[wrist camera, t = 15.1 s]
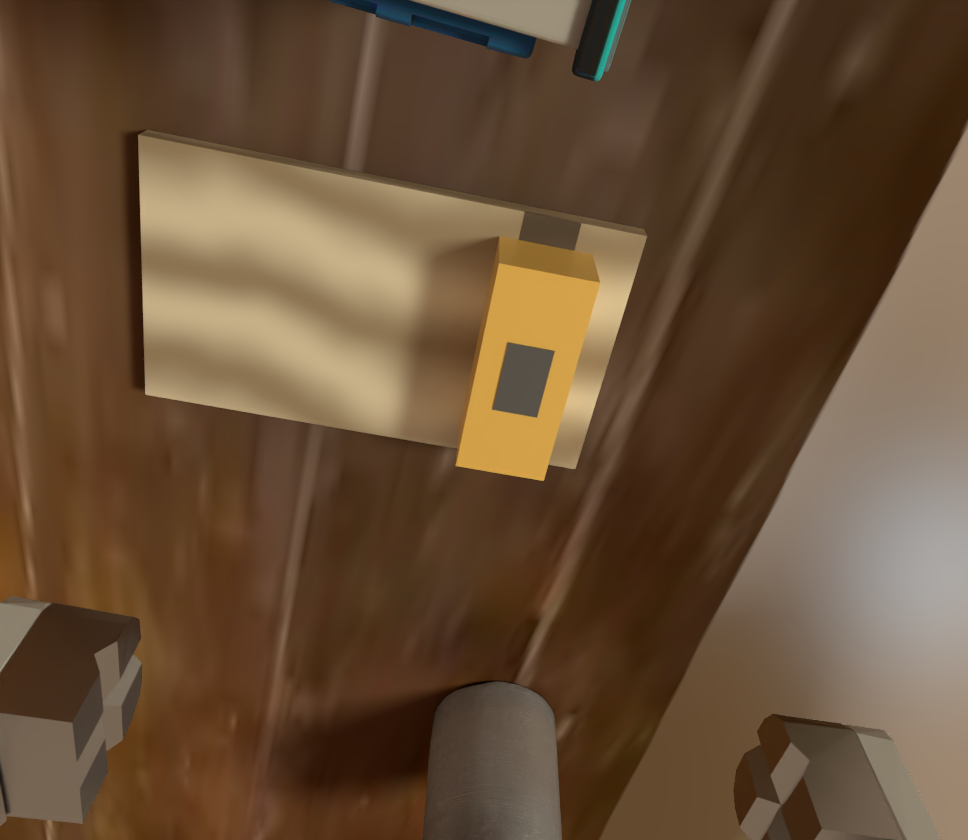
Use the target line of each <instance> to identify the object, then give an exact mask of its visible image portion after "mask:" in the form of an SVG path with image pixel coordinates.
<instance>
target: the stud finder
mask: <svg viewBox="0 0 968 840" xmlns="http://www.w3.org/2000/svg"><path fill="white" fill-rule="evenodd" d="M599 286H600V280H599V276H598V272H597V269H596V265H595V261H594V258H593V254H588V253H583V252H578V251H573V250H567V249H562V248H557V247H552V246H547V245H542V244H537V243H532V242H527V241H522V240H517V239H511V238H506V237H501V236H499V241H498V245H497V250H496V255H495V260H494V264H493V269H492V274H491V279H490V283H489V288H488V293H487V298H486V302H485V307H484V312H483V317H482V321H481V326H480V331H479V336H478V340H477V345H476V350H475V355H474V360H473V364H472V369H471V374H470V379H469V383H468V388H467V393H466V398H465V402H464V407H463V412H462V417H461V421H460V426H459V435H458V446H457V457H456V466H460V467H465V468H471V469H477V470H483V471H489V472H495V473H500V474H506V475H512V476H518V477H524V478H529V479H535V480H541V481H544V478H545V475H546V471H547V468H548V464H549V461H550V457H551V454H552V450H553V447H554V443H555V440H556V436H557V433H558V429H559V426H560V422H561V419H562V415H563V412H564V408H565V405H566V401H567V398H568V394H569V391H570V387H571V384H572V380H573V377H574V373H575V370H576V366H577V363H578V359H579V356H580V352H581V349H582V345H583V342H584V338H585V335H586V331H587V328H588V324H589V321H590V317H591V314H592V310H593V307H594V303H595V300H596V296H597V293H598V289H599Z"/></svg>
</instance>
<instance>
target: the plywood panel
mask: <svg viewBox="0 0 968 840" xmlns="http://www.w3.org/2000/svg"><path fill="white" fill-rule="evenodd" d="M138 149H139V185H140V221H141V257H142V293H143V328H144V364H145V395H151V396H157V397H163V398H168V399H174V400H180V401H186V402H191V403H197V404H203V405H209V406H214V407H220V408H226V409H232V410H237V411H243V412H249V413H255V414H260V415H266V416H272V417H278V418H283V419H289V420H295V421H301V422H307V423H312V424H318V425H324V426H330V427H335V428H341V429H347V430H353V431H358V432H364V433H370V434H376V435H381V436H387V437H393V438H399V439H404V440H410V441H416V442H422V443H427V444H433V445H439V446H445V447H451V448H456V449H457V446H458V435H459V426H460V421H461V417H462V412H463V407H464V402H465V398H466V393H467V388H468V383H469V379H470V374H471V369H472V364H473V360H474V355H475V350H476V345H477V340H478V336H479V331H480V326H481V321H482V317H483V312H484V307H485V302H486V298H487V293H488V288H489V283H490V279H491V274H492V269H493V264H494V260H495V255H496V250H497V245H498V241H499V236H501V237H506V238H511V239H517V240H522V241H527V242H532V243H537V244H542V245H547V246H552V247H557V248H562V249H567V250H573V251H578V252H583V253H588V254H593V258H594V261H595V265H596V269H597V272H598V276H599V280H600V286H599V289H598V293H597V296H596V300H595V303H594V307H593V310H592V314H591V317H590V321H589V324H588V328H587V331H586V335H585V338H584V342H583V345H582V349H581V352H580V356H579V359H578V363H577V366H576V370H575V373H574V377H573V380H572V384H571V387H570V391H569V394H568V398H567V401H566V405H565V408H564V412H563V415H562V419H561V422H560V426H559V429H558V433H557V436H556V440H555V443H554V447H553V450H552V454H551V457H550V461H549V464H548V465H554V466H560V467H566V468H571V469H575V468H576V465H577V462H578V459H579V455H580V452H581V449H582V446H583V442H584V439H585V436H586V433H587V430H588V426H589V423H590V420H591V417H592V413H593V410H594V407H595V404H596V400H597V397H598V394H599V391H600V387H601V384H602V381H603V378H604V374H605V371H606V368H607V365H608V361H609V358H610V355H611V352H612V349H613V345H614V342H615V339H616V336H617V332H618V329H619V326H620V323H621V319H622V316H623V313H624V310H625V306H626V303H627V300H628V297H629V293H630V290H631V287H632V284H633V280H634V277H635V274H636V271H637V268H638V264H639V261H640V258H641V255H642V251H643V248H644V245H645V242H646V238H647V235H646V233H645V231H644V229H642V228H637V227H632V226H627V225H622V224H617V223H612V222H607V221H602V220H597V219H592V218H587V217H582V216H577V215H572V214H567V213H562V212H557V211H552V210H547V209H542V208H537V207H532V206H527V205H522V204H517V203H512V202H507V201H502V200H497V199H492V198H487V197H482V196H477V195H472V194H467V193H462V192H457V191H452V190H447V189H442V188H437V187H432V186H427V185H422V184H417V183H412V182H407V181H402V180H397V179H392V178H387V177H382V176H377V175H372V174H367V173H362V172H357V171H352V170H347V169H342V168H337V167H332V166H327V165H322V164H317V163H312V162H307V161H302V160H297V159H292V158H287V157H282V156H277V155H272V154H267V153H262V152H257V151H252V150H247V149H242V148H237V147H232V146H227V145H222V144H217V143H212V142H207V141H202V140H197V139H192V138H187V137H182V136H177V135H172V134H167V133H162V132H157V131H152V130H146V131H144V132H142V133H140V134H139V135H138Z"/></svg>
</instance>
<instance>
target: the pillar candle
mask: <svg viewBox="0 0 968 840" xmlns="http://www.w3.org/2000/svg"><path fill="white" fill-rule="evenodd" d="M422 840H562V834H561V815H560V800H559V783H558V765H557V747H556V728H555V718H554V715H553V712H552V709H551V708H550V706H549V705H548V703H547V702H546V701H545V700H544V699H543V698H542V697H540V696H539V695H538V694H537V693H535V692H533V691H531V690H529V689H528V688H525V687H522V686H520V685H517V684H514V683H513V684H511V683H507V682H501V681H495V682H488V683H484V684H479V685H474V686H470V687H466V688H462V689H458V690H456V691H454V692H452V693H450V694H449V695H448V696H446V697H445V698H444V699H443V700H442V702H441V703H440V704H439V706H438V707H437V709H436V712H435V716H434V721H433V728H432V736H431V741H430V754H429V763H428V782H427V793H426V803H425V816H424V828H423V839H422Z"/></svg>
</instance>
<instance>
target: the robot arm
mask: <svg viewBox="0 0 968 840" xmlns="http://www.w3.org/2000/svg"><path fill="white" fill-rule="evenodd" d="M140 639H141V634H140V622H139V619H137V618H135V617H131V616H125V615H119V614H114V613H108V612H103V611H97V610H92V609H86V608H80V607H75V606H69V605H64V604H58V603H50V602H44V601H38V600H32V599H26V598H21V597H15V596H10V597H9V598H7V599H6V600H5V601H3V602H2V603H0V826H1V825H2V824H3V823H4V822H6V820H7V817H6V816H14V817H24V818H33V819H43V820H52V821H62V822H72V823H81V824H83V822H84V820H85V818H86V816H87V814H88V812H89V810H90V808H91V806H92V804H93V802H94V800H95V797H96V795H97V793H98V791H99V789H100V787H101V785H102V783H103V781H104V779H105V777H106V774H107V756H106V751H107V750H109V749H110V748H112V747H113V746H115V745H116V744H117V743H119V742H120V741H122V740H123V738H124V736H125V734H126V732H127V730H128V727H129V725H130V723H131V721H132V718H133V715H134V712H135V708H136V705H137V702H138V698H139V695H140V688H141V681H142V663H141V662H140V661H139V660H138V659H137V658H136V656H135V655H134V654H133V653H134V651H135V649H136V647H137V645H138V643H139V641H140ZM757 733H758V736H759V740H760V743H761V745H759V746H757V747H755V748H753V749H751V750H749V751H748V752H746V753H744V755H743V758H742V759H741V761H740V763H739V766H738V767H737V769H736V776H735V783H734V802H735V810H736V814H737V818H738V822H739V826H740V828H742V830H743V831H744V832H745V833H746V835H747V836H748V837H749V838H750V839H751V840H942V839H941V837H940V835H939V833H938V831H937V829H936V827H935V825H934V823H933V821H932V819H931V817H930V815H929V812H928V810H927V808H926V806H925V804H924V802H923V800H922V798H921V796H920V794H919V792H918V790H917V788H916V786H915V784H914V782H913V780H912V778H911V776H910V774H909V772H908V769H907V767H906V766H905V763H904V761H903V759H902V757H901V755H900V753H899V751H898V749H897V747H896V745H895V743H894V741H893V739H892V738H891V737H890V736H889V735H888V734H887V733H886V732H885V731H884V730H879V729H872V728H865V727H859V726H852V725H843V724H841V723H835V722H828V721H819V720H813V719H806V718H799V717H792V716H785V715H778V714H772V715H770V716H769V717H767V718H765V719H764V721H763V722H762V724H761V726H760V727H759V729H758V731H757Z"/></svg>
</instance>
